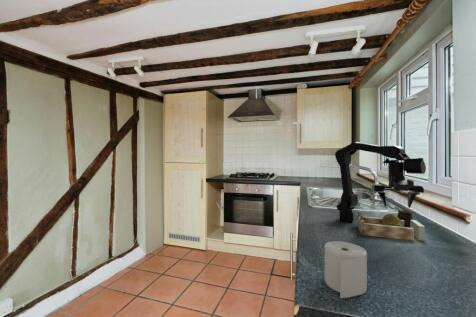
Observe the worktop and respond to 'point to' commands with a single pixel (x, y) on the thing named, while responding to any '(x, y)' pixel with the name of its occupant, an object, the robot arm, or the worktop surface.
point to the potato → (391, 220)
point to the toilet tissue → (346, 268)
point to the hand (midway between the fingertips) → (397, 207)
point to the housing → (383, 228)
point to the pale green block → (418, 229)
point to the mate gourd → (405, 217)
